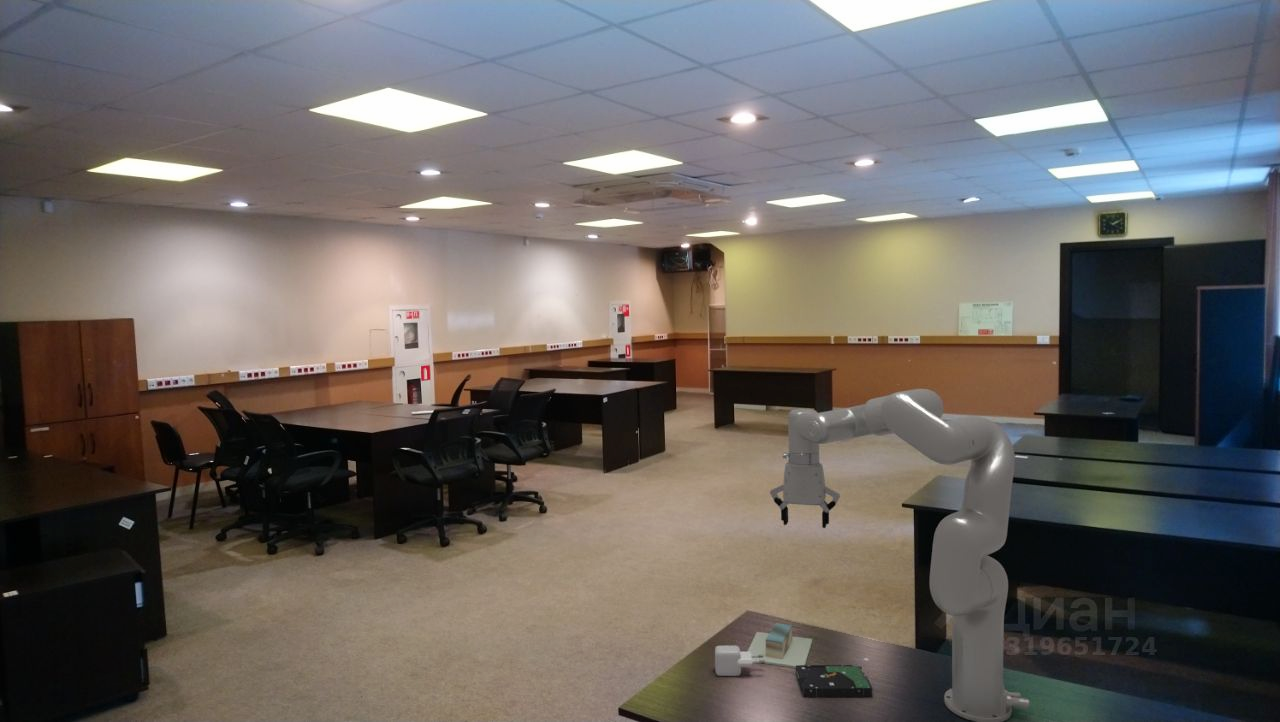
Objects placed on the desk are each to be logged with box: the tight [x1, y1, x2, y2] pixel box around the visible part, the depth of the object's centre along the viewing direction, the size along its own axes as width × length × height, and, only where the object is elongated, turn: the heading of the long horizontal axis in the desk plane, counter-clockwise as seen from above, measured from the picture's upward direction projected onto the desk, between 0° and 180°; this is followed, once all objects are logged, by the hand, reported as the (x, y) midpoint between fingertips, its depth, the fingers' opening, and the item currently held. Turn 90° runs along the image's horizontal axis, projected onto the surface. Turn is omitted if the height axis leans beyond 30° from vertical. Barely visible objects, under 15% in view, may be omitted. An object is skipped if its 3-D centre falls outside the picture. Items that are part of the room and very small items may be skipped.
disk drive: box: [795, 664, 873, 699], centre depth 160 cm, size 10×3×15 cm
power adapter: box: [714, 645, 765, 677], centre depth 166 cm, size 11×5×6 cm, turn 87°
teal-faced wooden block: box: [766, 622, 793, 659], centre depth 176 cm, size 10×4×4 cm, turn 155°
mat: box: [746, 631, 814, 670], centre depth 177 cm, size 14×15×1 cm
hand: (805, 525), depth 184 cm, fingers open, 9 cm apart
